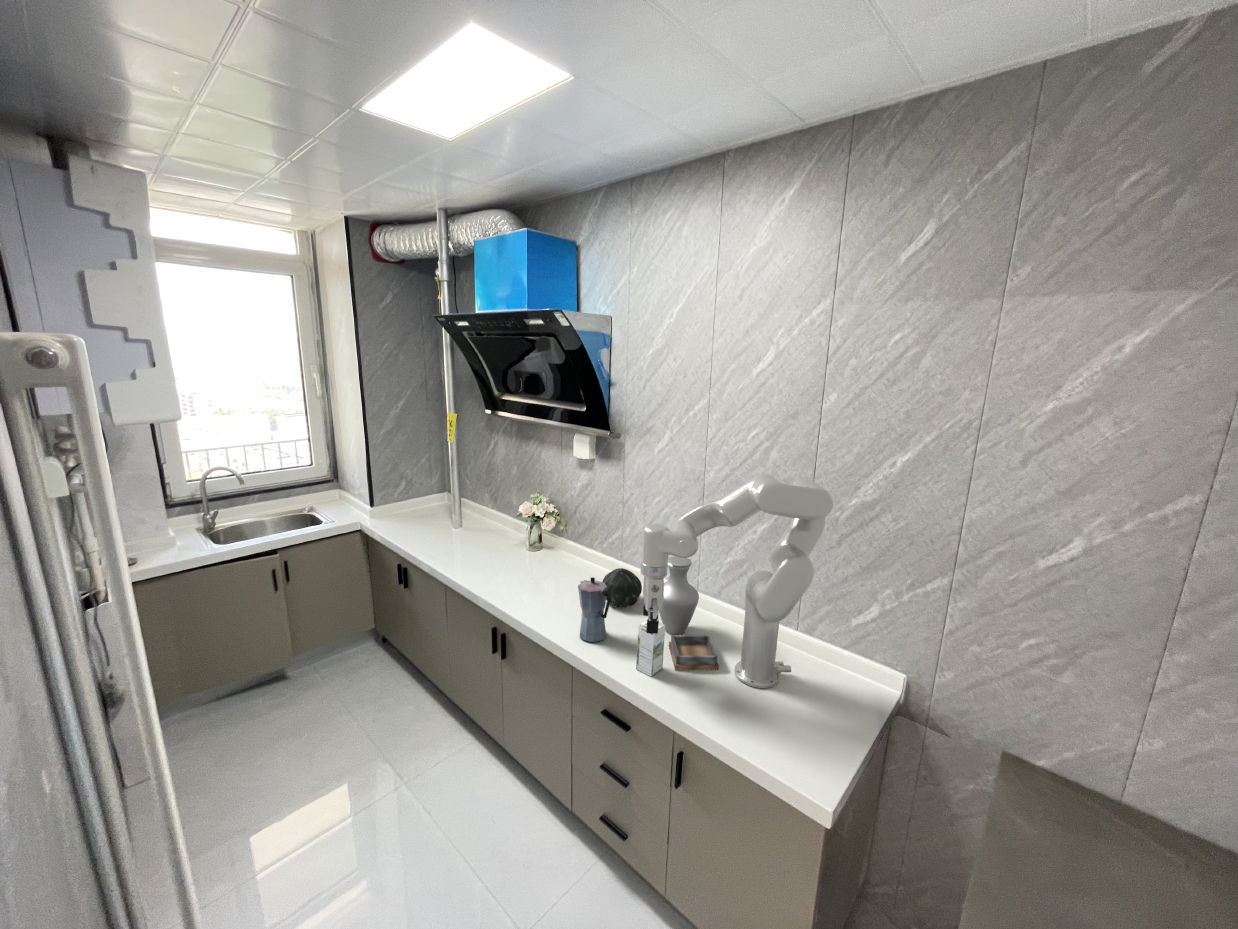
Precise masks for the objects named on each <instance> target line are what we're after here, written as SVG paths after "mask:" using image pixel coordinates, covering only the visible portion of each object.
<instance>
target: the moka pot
mask: <svg viewBox="0 0 1238 929" xmlns="http://www.w3.org/2000/svg"><path fill="white" fill-rule="evenodd" d="M577 590H578V595H579V596H578V597H579V598H578V599H579V604H580V606H579V607H580V608H581V618H580V619H581V620H580V627H579V638H580V639H581V640H583V641H585V642H590V643H591V642H592V643H595V642H600V641H603V640H605V638H607V630H606V622H605V619H607V615H608V611H609V609H610V604H611V603H610V596H609V595H608V593H607V586H606V584H605V583H604V582H602V581H598V580H596V577H590V580H587V579H586V580H585V579H584V580H581V581H579V584H578V585H577ZM606 597H607V600H606Z"/></svg>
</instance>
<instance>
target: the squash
mask: <svg viewBox="0 0 1238 929" xmlns="http://www.w3.org/2000/svg"><path fill="white" fill-rule="evenodd" d="M601 582H604V583H605V584H606V586H607V593H608V595H609V596H610V604H612V605H613V607H614V608H619V607H621V608H627V607H628V606H633V605H635V604H636V603H637V602H638V601H639V598H640V596H641V594H642V592H643V591H642V590H643V586H642V581H641V580H640V578H639V577H638V576H637V575H636V574H635V573H634V572H633V571H630V570H629V569H626V568H622V567H620V568H615V569H613V570H612V571H610V572H608V573H607V574H606V575H604V577H603V579H602V581H601ZM606 601H607V597H606Z"/></svg>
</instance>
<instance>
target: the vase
mask: <svg viewBox="0 0 1238 929" xmlns="http://www.w3.org/2000/svg"><path fill="white" fill-rule="evenodd" d="M692 564H693V562H692V560H691V559H690V558H689V557H688V558H682V557H677V556H670V557H669V556H668V570H669V576H668V579H667V580H666V581H664V600H663V611H662V612H661V611H659V609H658V614H659V617H660V620H661V623H662V624H664V625H665V633H667V634H669V635H671V636H673V635H684V633H686V630H687V628H688V627H689V625H690V623H691V621H692V618H693V616H694V614H695V612H696V608H697V607H698V603H699V599H700V595H699V591H698V590H697V589H696V588H695V587H694V586H693V585H691V584H690V583H689V581H688V578H687V575H688V572H689V569H690V567H691V566H692Z"/></svg>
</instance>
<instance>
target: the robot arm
mask: <svg viewBox="0 0 1238 929" xmlns="http://www.w3.org/2000/svg"><path fill="white" fill-rule="evenodd" d="M833 508H834V501H833V497H832V496H831V494H830V493H829V491H828V490H826V489H825V488H823V487H822V486H821V485H820V484H818V483H817V482H815V481H814V480H811V478H810V479H809V478H805V477H804V478H802V477H801V478H798V479H796V480H795V481H793V483H792V484H788V483H783V482H780V481H779V480H778V479H777V478H776V477H774V476H772V475H771V474H767V473H760V474H758V475H756V476H754V477H752V478H750V479H749V480H747V481H746V482H744V483H743V484H741V485H739V486H738V487H736V488H735V489H733V490H731V491H730V492H729V493H727V494H725V495H724V496H722V497H721V498H719V499H717V500H715V501H712V502H709V503H707V504H704V505H701V506H698V507H696V508H695V509H693V510H691V511H689V512H688V513H686V514H684V515H683V516H682V517H680V518H678V519H677V520H676V521H675V522H674V523H673V524H672V525H671V526H670V527H669V528H668V526H665V525H663V524H659V523H658V524H657V523H652V524H651V523H650V524H648V525H646V526H644V528H643V531H642V542H641V544H642V545H641V559H640V575H642V576H643V586H642V590H643V591H642V596H643V598H642V599H643V609H642V615H643V616H644V617H647V619H646V621H647V628H646V632H647V633H655V634H657V633H658V624H659V622H660V621H659V620H660V619H659V611H661V612H662V611H663V600H664V583H665V578H666V577H667V575H668V569H669V567H668V558H669V556H672V557H674V556H677V557H682V558H688V559H689V558H691V557H693V556H694V555H696V554H697V552H698V550H699V540H698V537H699V536H701V535H702V534H704V533H706V532H708V531H709V530H712V529H714V528H719V527H727V528H732V527H734V528H735V527H737V526H739V525H740V524H742V523H743V522H745V521H747V520H748V519H750V518H751V517H753V516H754V515H756V514H758V513H759V512H763V513H766V514H768V515H772V516H779V517H784V518H785V517H786V518H791V520H790V523H789V524H788V526H787V528H786V529H785V531H784V532H783V534H782V535H781V537H780V538H779V539H778V541H777V542H776V544H775V545H774V547H773V548H772V549H771V551H770V553H769V557H768V562H769V565H770V567H771V568H772V570H773V572H770V570H769V571H768V570H764V569H760V570H756V571H754V572H753V573H751V575H749V577H747V578H748V579H747V580H746V582H745V590H744V591H745V592H744V595H745V596H744V597H745V599H744V601H745V608H744V620H743V621H744V622H743V631H742V632H743V633H742V635H743V636H742V641H741V642H742V644H741V645H742V646H741V654H740V656H741V657H740V661H738V662H736V664H735V665H734V674H735V677H736V678H737V679H738V680H739V681H740V682H741V683H743V684H745V685H748V686H750V687H753V688H758V689H768V688H772V687H774V686H776V685H777V684H778V683H779V680H780V674H781V673H792V667H791V666H792V665H790V664H789V665H787V664H786V665H785V664H784V661H780V660H779V661H776V655H777V646H778V638H779V629H780V621H782V620H784V619H785V618H787V617H788V616H789V615H790V614H791V612H792V611H793V610H794V608H795V607H796V605H797V604H798V603H799V601H800V600H801V599H802V597H803V596H804V594H805V593H806V592H807V590H808V588H810V586H811V584H812V582H813V580H814V576H815V567H814V564H813V562H812V560H811V559H810V555H811V553H812V551H813V550H814V548H815V547H816V544H817V543H819V542H818V541H819V540H820V538H821V536H823V532H824V530H825V524H826V518H827V517H828V516H829V515H830V514H831V512H832V511H833ZM658 609H659V610H658Z"/></svg>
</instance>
